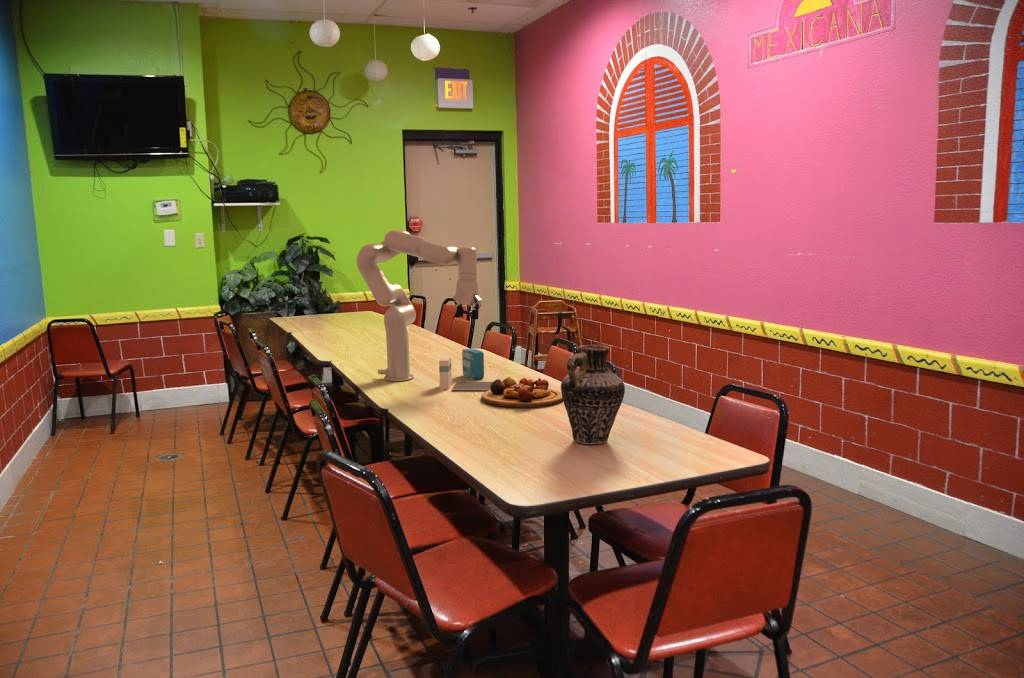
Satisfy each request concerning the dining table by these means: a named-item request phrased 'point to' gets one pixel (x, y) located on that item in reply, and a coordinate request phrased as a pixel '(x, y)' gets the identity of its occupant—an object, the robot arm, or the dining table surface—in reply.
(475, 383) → the mat
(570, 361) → the jug
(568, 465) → the dining table surface
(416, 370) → the dining table surface
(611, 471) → the dining table surface
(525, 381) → the wooden plate with food
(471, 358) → the data package
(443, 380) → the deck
